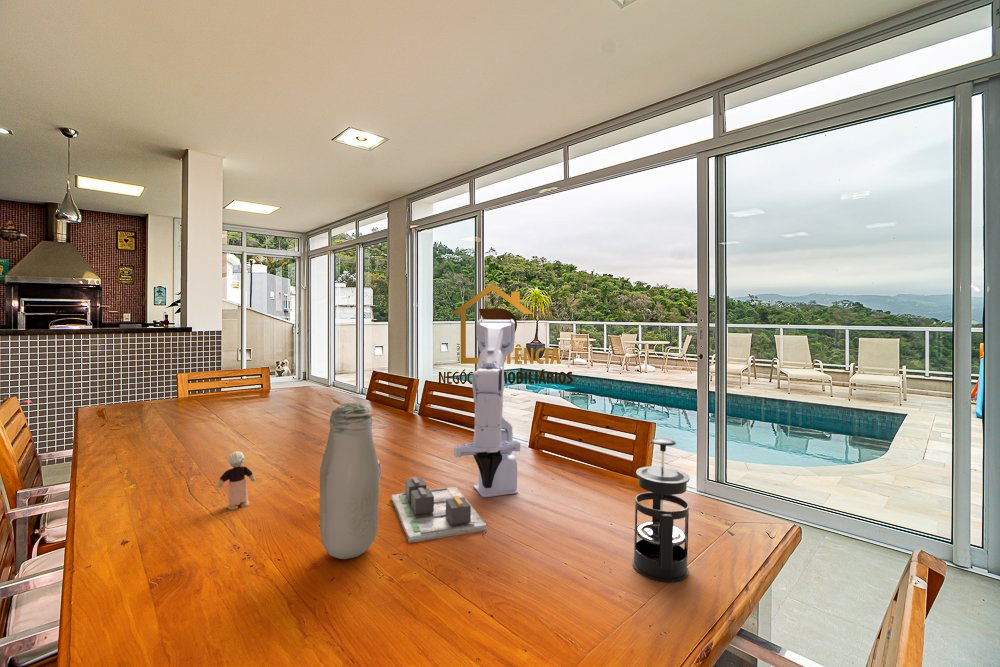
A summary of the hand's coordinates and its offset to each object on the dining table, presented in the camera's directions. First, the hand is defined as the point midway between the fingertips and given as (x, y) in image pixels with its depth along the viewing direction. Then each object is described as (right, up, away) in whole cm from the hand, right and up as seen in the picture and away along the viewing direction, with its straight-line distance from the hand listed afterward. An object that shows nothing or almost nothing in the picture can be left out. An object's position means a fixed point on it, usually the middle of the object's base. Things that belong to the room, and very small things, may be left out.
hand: (487, 486), depth 101 cm
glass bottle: (-25, -8, -14) cm, 30 cm away
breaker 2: (-14, -6, +3) cm, 16 cm away
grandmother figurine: (-58, -7, +6) cm, 58 cm away
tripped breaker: (-6, -6, -2) cm, 9 cm away
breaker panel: (-12, -7, +4) cm, 14 cm away
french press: (+31, -9, -18) cm, 37 cm away
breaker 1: (-17, -6, +10) cm, 20 cm away
